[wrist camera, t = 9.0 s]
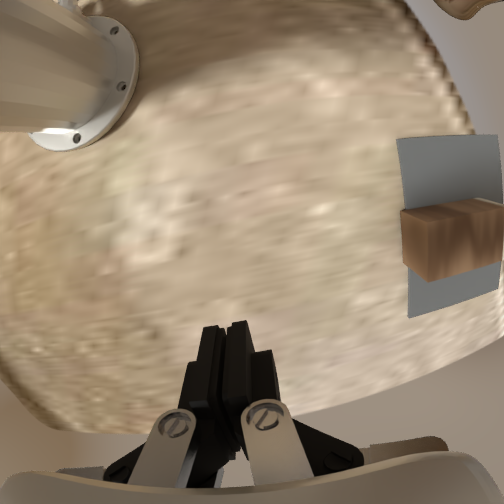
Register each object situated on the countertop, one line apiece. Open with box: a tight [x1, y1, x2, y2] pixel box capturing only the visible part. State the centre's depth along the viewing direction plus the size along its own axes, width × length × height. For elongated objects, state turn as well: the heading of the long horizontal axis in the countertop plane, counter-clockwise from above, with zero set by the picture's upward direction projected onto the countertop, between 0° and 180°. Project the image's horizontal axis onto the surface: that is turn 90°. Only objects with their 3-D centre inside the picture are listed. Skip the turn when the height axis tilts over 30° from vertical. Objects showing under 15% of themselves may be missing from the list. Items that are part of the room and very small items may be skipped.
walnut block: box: [400, 198, 504, 283], centre depth 21 cm, size 4×4×9 cm
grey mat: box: [396, 135, 503, 318], centre depth 23 cm, size 16×12×1 cm
